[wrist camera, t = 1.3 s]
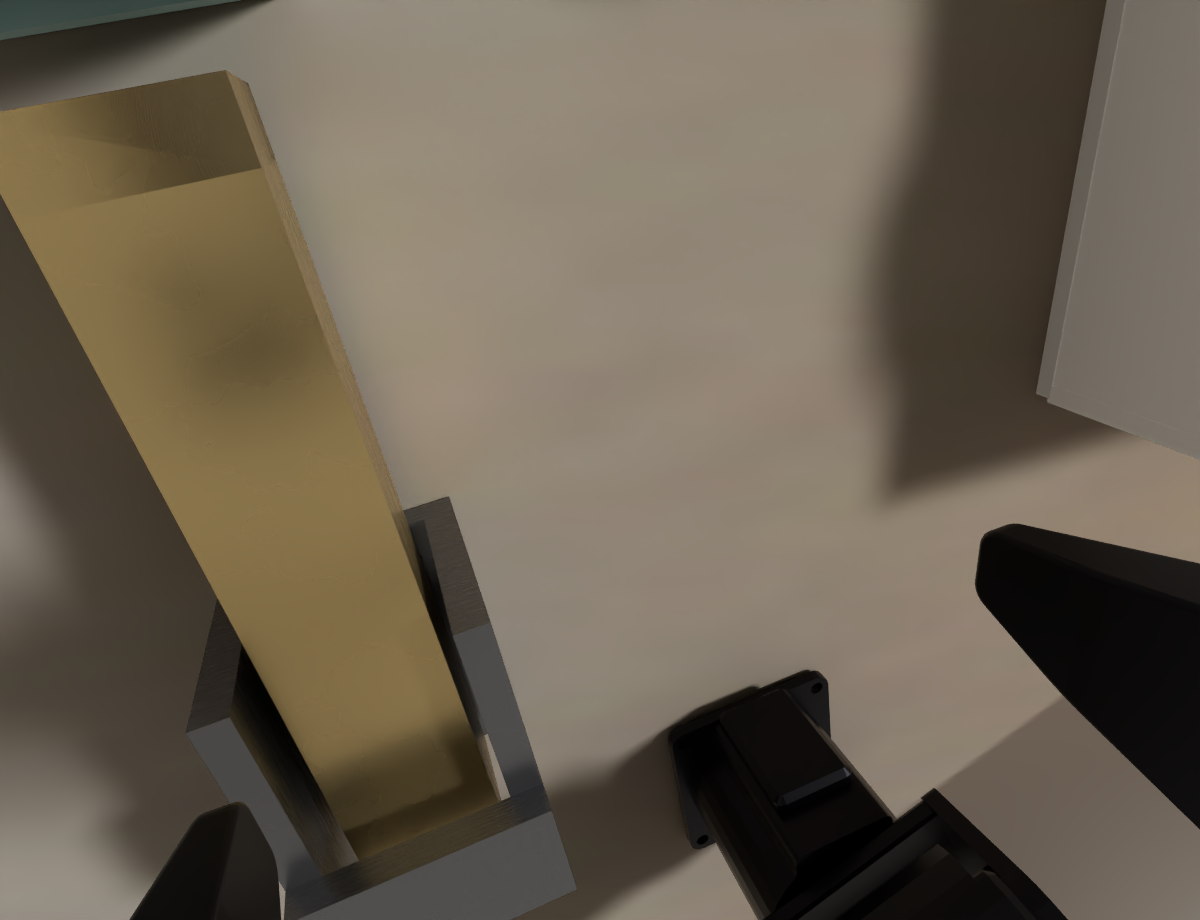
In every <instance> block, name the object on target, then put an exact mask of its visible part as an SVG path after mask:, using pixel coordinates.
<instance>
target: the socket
mask: <svg viewBox="0 0 1200 920" xmlns="http://www.w3.org/2000/svg"><path fill="white" fill-rule="evenodd" d="M234 1H240V0H0V40H5V39H11V38H17V37H23V36H29V35H35V34H41V33H47V32H53V31H59V30H65V29H71V28H77V27H83V26H89V25H95V24H101V23H107V22H113V21H119V20H125V19H131V18H137V17H143V16H150V15H156V14H162V13H168V12H174V11H180V10H186V9H192V8H198V7H204V6H210V5H216V4H222V3H228V2H234Z"/></svg>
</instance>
